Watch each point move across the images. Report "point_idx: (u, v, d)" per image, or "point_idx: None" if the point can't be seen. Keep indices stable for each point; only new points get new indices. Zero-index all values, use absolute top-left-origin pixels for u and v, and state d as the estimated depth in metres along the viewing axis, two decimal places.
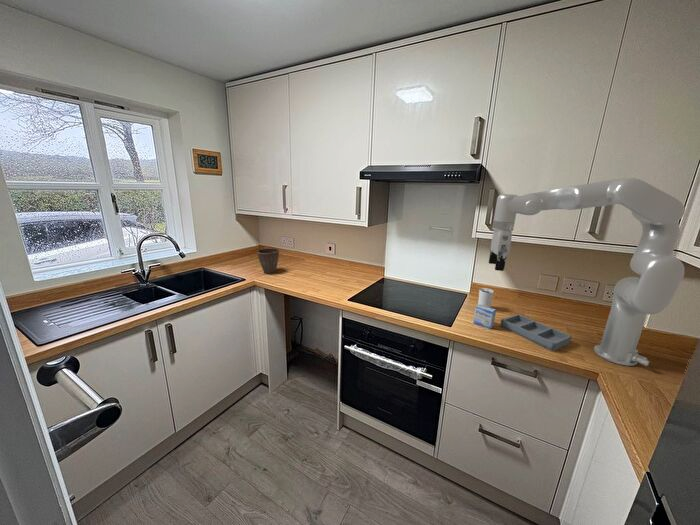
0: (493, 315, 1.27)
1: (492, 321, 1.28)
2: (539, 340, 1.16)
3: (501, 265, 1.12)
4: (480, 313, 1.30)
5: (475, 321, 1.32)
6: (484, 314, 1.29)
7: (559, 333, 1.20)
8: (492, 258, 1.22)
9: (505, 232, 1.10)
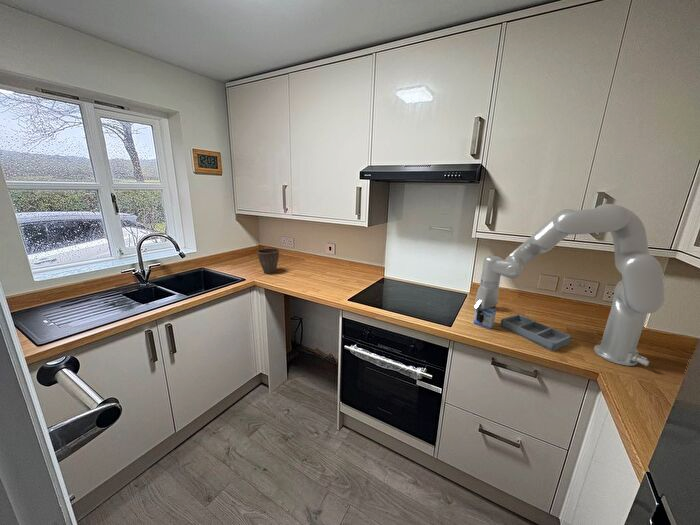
0: (493, 315, 1.27)
1: (492, 321, 1.28)
2: (539, 340, 1.16)
3: None
4: None
5: (475, 321, 1.32)
6: (484, 314, 1.29)
7: (559, 333, 1.20)
8: None
9: None
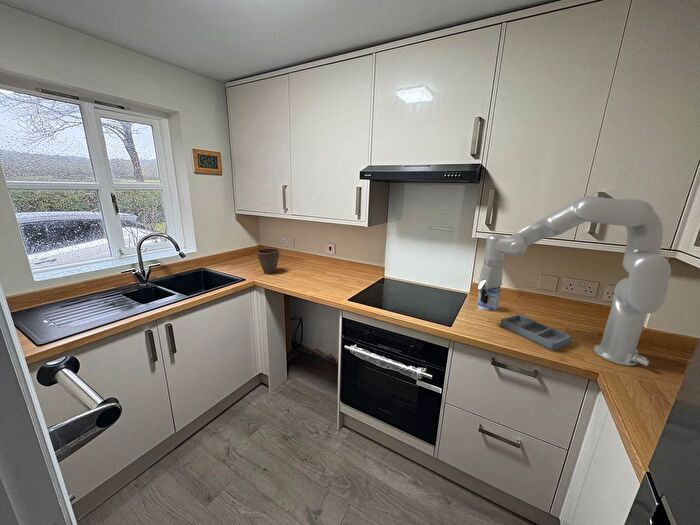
0: (497, 295, 1.25)
1: (497, 302, 1.25)
2: (539, 340, 1.16)
3: None
4: None
5: (479, 303, 1.30)
6: (488, 295, 1.26)
7: (559, 333, 1.20)
8: None
9: None
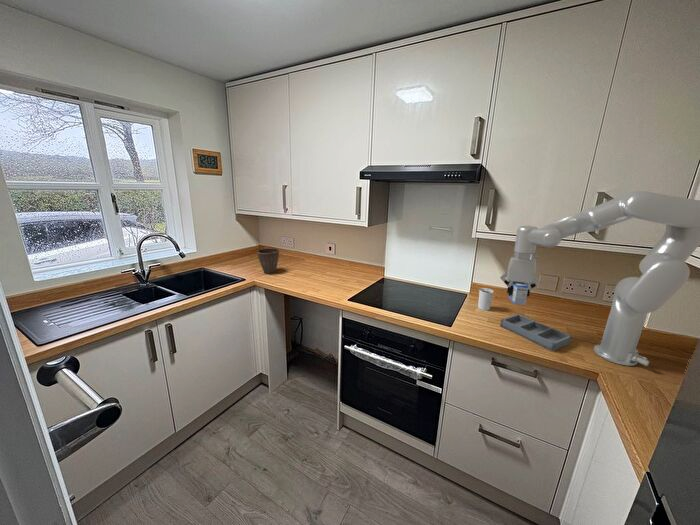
0: (520, 290, 1.19)
1: (519, 297, 1.19)
2: (539, 340, 1.16)
3: (529, 292, 1.21)
4: (512, 286, 1.24)
5: None
6: (513, 288, 1.22)
7: (559, 333, 1.20)
8: None
9: (535, 261, 1.17)
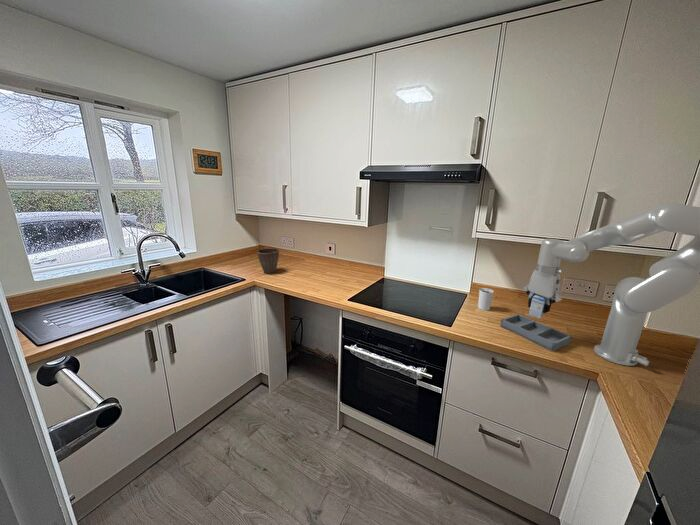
0: (535, 302, 1.18)
1: (534, 309, 1.19)
2: (539, 340, 1.16)
3: (549, 308, 1.17)
4: None
5: None
6: None
7: (559, 333, 1.20)
8: None
9: (557, 276, 1.13)
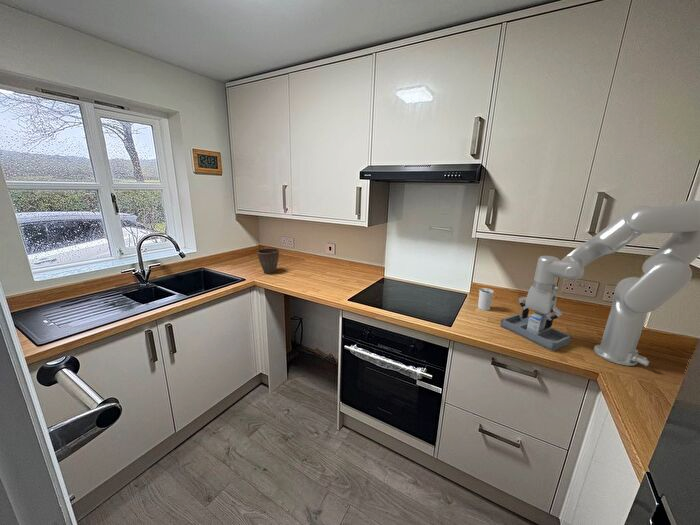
0: (532, 321, 1.20)
1: (530, 327, 1.21)
2: (539, 340, 1.16)
3: (551, 323, 1.17)
4: None
5: None
6: None
7: (559, 333, 1.20)
8: (525, 313, 1.26)
9: (553, 293, 1.15)
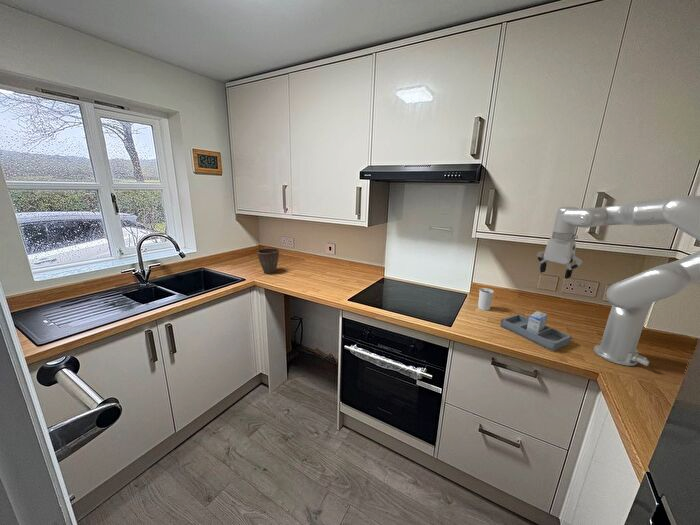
0: (532, 321, 1.20)
1: (530, 327, 1.21)
2: (539, 340, 1.16)
3: (571, 273, 1.19)
4: None
5: None
6: None
7: (559, 333, 1.20)
8: (543, 267, 1.27)
9: (573, 242, 1.17)
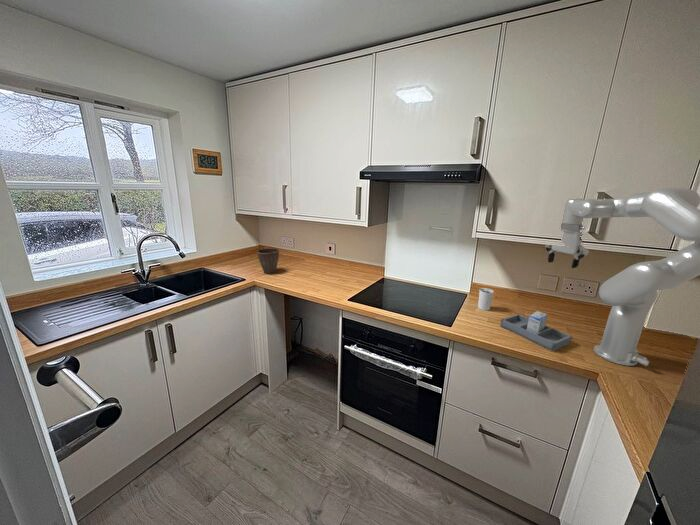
0: (532, 321, 1.20)
1: (530, 327, 1.21)
2: (539, 340, 1.16)
3: (578, 262, 1.23)
4: None
5: None
6: None
7: (559, 333, 1.20)
8: (551, 257, 1.32)
9: (580, 233, 1.21)
